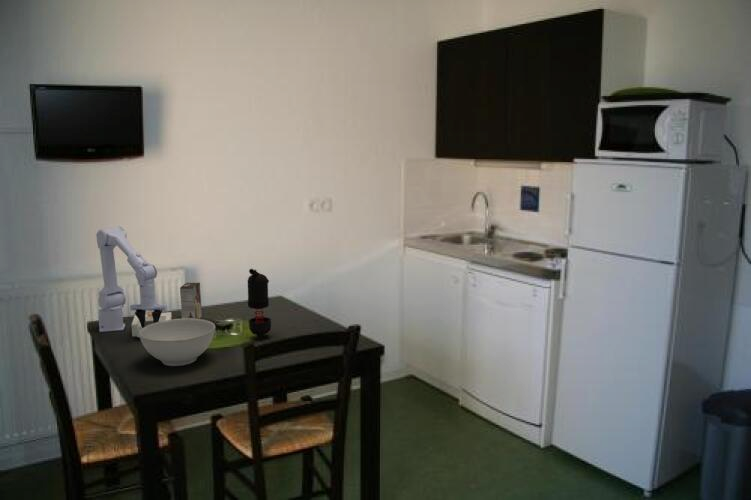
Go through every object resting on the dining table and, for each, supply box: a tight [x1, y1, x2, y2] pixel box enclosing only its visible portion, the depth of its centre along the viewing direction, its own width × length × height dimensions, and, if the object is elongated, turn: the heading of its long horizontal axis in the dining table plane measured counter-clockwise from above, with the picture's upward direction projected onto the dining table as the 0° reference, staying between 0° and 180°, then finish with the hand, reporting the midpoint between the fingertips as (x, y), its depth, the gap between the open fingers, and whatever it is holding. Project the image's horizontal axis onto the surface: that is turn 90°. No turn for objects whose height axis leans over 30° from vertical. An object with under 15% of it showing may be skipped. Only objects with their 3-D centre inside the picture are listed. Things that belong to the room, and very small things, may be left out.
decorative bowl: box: [138, 317, 216, 367], centre depth 230 cm, size 27×27×12 cm
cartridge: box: [136, 321, 154, 338], centre depth 258 cm, size 10×10×6 cm
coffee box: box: [179, 282, 203, 319], centre depth 280 cm, size 9×6×16 cm
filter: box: [247, 268, 272, 339], centre depth 255 cm, size 14×9×30 cm
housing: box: [131, 311, 172, 337], centre depth 266 cm, size 15×15×5 cm
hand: (149, 327), depth 254 cm, fingers open, 4 cm apart
